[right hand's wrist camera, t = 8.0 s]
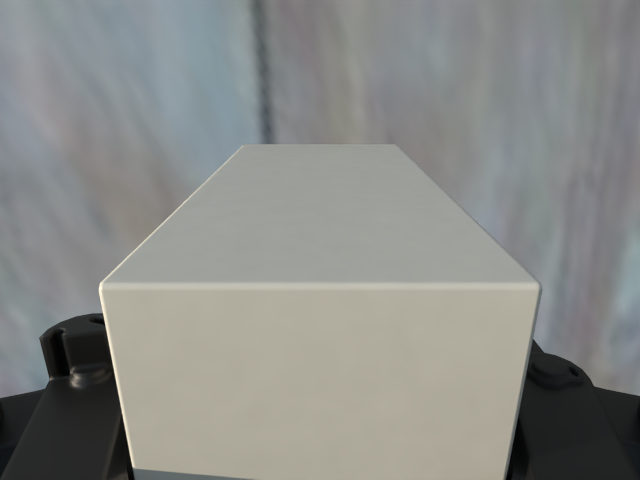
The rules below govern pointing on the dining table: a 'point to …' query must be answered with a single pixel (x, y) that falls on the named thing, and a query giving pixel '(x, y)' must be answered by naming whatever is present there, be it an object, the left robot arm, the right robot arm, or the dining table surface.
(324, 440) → the bar
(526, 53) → the dining table surface
